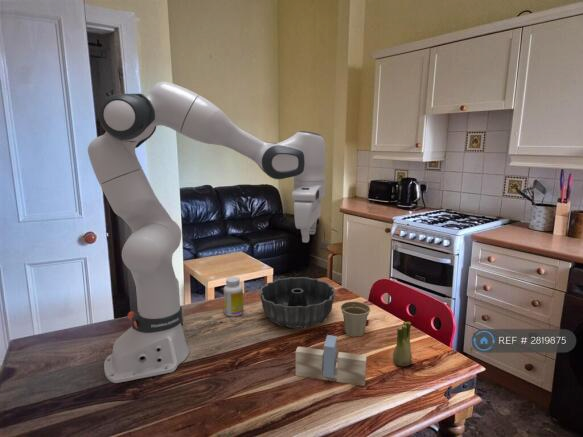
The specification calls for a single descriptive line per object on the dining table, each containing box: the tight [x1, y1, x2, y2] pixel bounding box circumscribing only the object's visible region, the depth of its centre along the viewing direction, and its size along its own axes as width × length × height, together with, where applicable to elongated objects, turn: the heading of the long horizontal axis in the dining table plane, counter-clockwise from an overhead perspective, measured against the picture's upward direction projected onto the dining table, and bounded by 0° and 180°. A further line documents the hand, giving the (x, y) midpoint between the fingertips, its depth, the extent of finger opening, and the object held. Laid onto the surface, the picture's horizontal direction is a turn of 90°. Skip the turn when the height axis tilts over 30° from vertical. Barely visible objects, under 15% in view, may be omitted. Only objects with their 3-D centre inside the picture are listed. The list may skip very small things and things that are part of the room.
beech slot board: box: [295, 346, 367, 387], centre depth 98 cm, size 18×2×7 cm, turn 76°
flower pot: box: [340, 300, 371, 337], centre depth 121 cm, size 9×9×9 cm
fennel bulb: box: [392, 321, 413, 367], centre depth 104 cm, size 6×5×12 cm
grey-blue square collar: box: [323, 334, 338, 378], centre depth 97 cm, size 6×3×8 cm, turn 166°
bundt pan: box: [258, 276, 336, 329], centre depth 132 cm, size 26×26×10 cm
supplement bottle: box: [223, 276, 244, 317], centre depth 134 cm, size 7×7×13 cm
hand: (309, 237), depth 109 cm, fingers open, 8 cm apart
